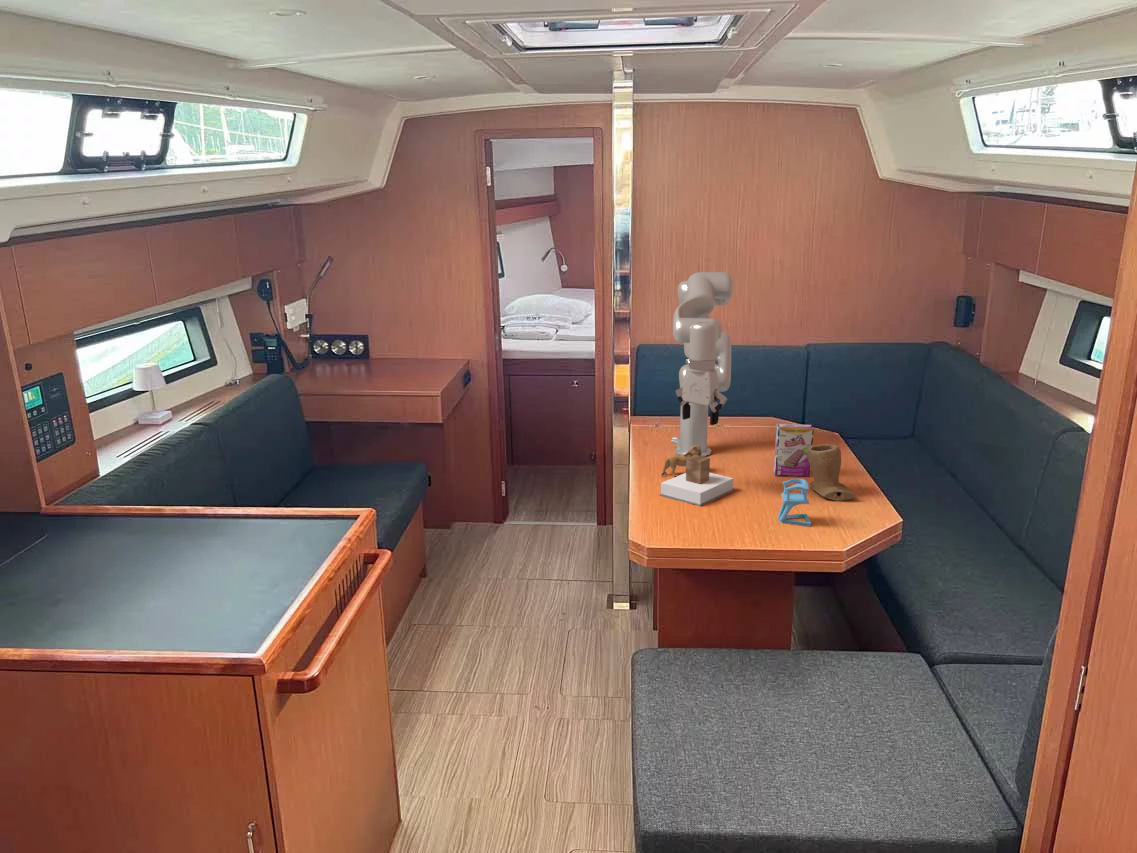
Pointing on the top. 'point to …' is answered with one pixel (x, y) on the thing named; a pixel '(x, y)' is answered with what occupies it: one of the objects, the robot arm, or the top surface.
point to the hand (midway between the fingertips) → (699, 421)
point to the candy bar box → (792, 450)
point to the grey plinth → (696, 489)
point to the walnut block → (697, 469)
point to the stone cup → (827, 472)
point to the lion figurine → (680, 459)
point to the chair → (794, 502)
